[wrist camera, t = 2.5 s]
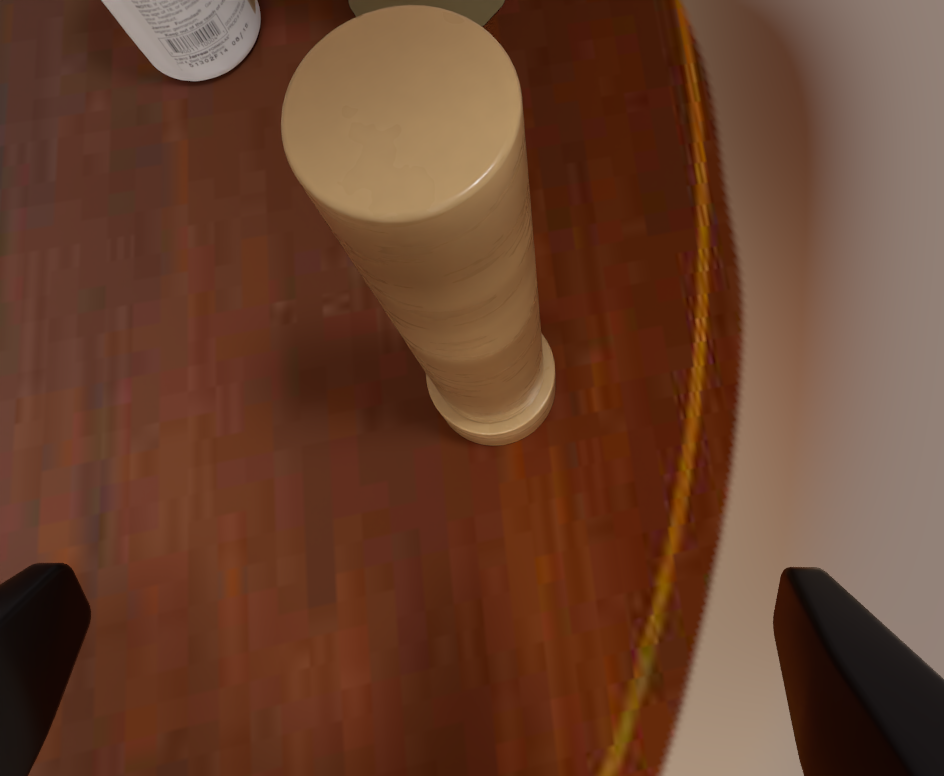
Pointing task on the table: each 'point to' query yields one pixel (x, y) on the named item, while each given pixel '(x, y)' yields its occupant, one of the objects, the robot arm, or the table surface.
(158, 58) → the pill bottle
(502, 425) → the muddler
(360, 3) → the pepper shaker
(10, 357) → the table surface
